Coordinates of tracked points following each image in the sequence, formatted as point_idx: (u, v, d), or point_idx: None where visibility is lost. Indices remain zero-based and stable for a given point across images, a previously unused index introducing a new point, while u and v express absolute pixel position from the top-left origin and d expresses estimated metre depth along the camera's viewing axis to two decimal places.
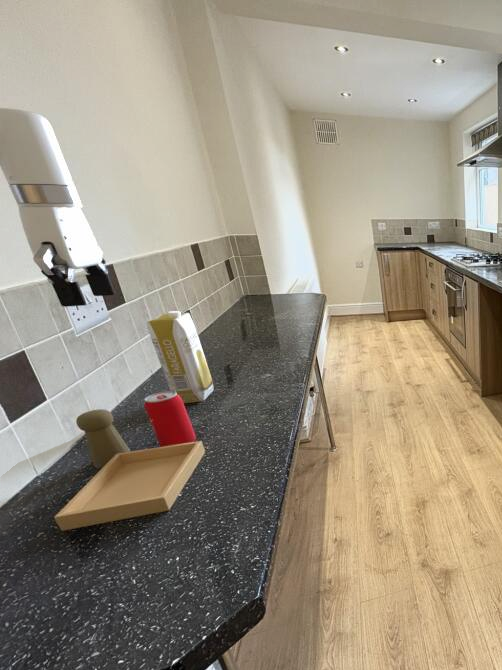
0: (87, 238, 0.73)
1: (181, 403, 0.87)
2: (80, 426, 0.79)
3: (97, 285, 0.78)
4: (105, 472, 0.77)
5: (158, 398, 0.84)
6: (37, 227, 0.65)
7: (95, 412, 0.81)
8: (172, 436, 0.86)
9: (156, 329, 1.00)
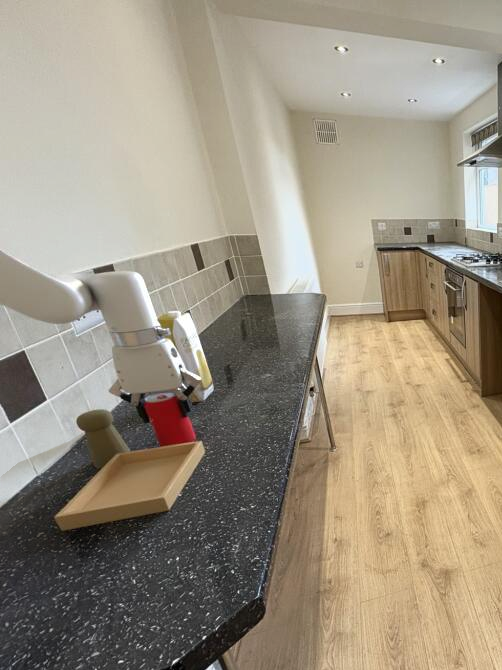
0: (153, 371, 0.81)
1: None
2: (80, 426, 0.79)
3: None
4: (105, 472, 0.77)
5: (158, 398, 0.84)
6: None
7: (95, 412, 0.81)
8: (172, 436, 0.86)
9: None
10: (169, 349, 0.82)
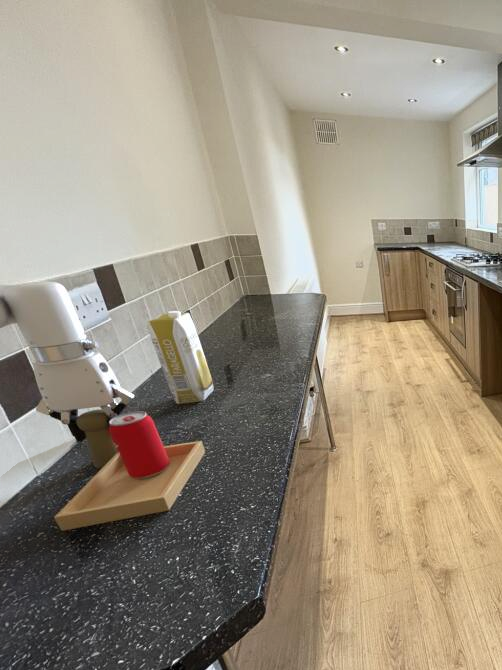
0: (79, 387, 0.77)
1: (152, 425, 0.77)
2: (80, 426, 0.79)
3: None
4: (105, 472, 0.77)
5: (124, 420, 0.74)
6: None
7: (95, 412, 0.81)
8: (141, 462, 0.76)
9: (156, 329, 1.00)
10: (97, 364, 0.77)
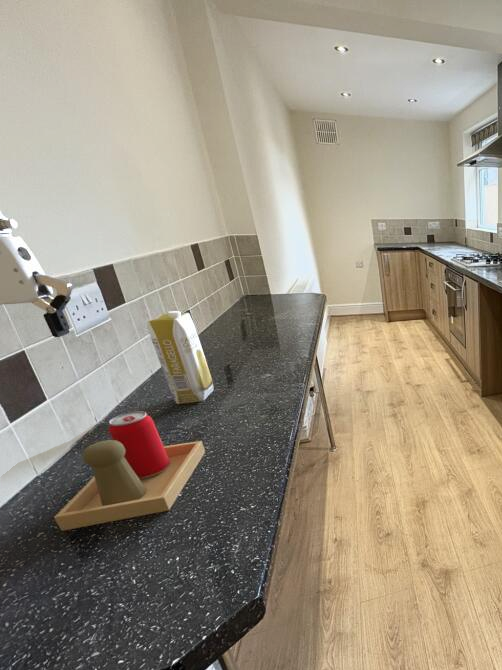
0: None
1: (152, 425, 0.77)
2: (87, 461, 0.67)
3: None
4: None
5: (124, 420, 0.74)
6: None
7: (104, 444, 0.68)
8: (141, 462, 0.76)
9: (156, 329, 1.00)
10: (15, 247, 0.63)
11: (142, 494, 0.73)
